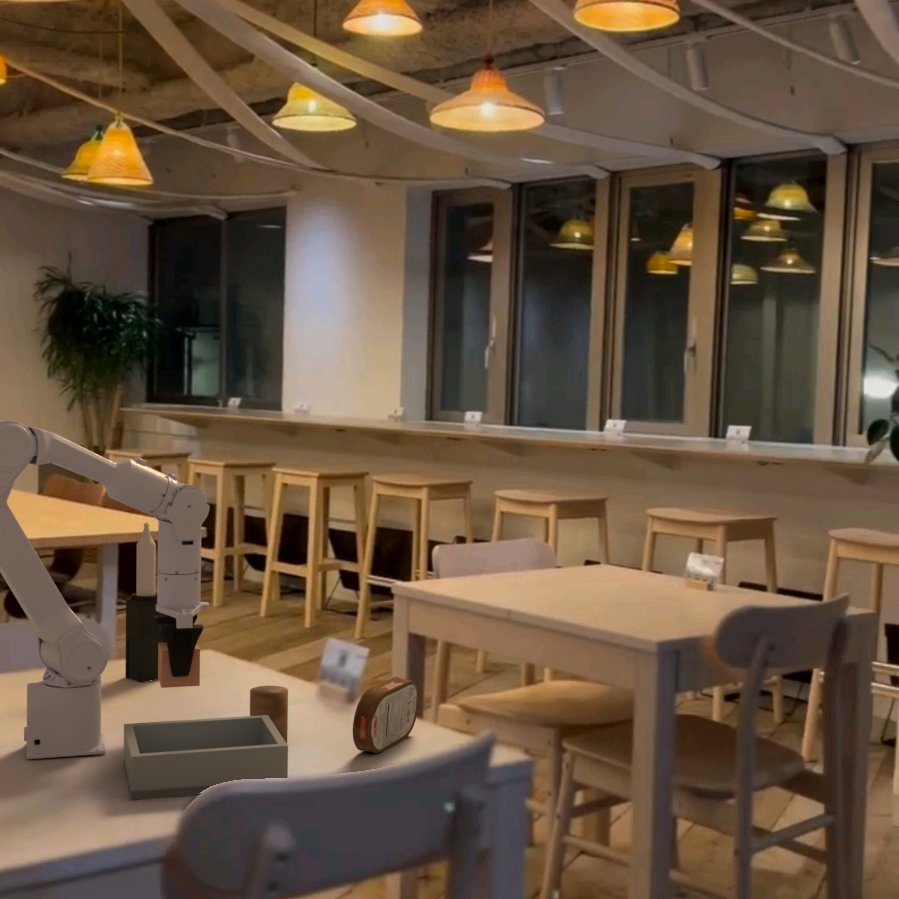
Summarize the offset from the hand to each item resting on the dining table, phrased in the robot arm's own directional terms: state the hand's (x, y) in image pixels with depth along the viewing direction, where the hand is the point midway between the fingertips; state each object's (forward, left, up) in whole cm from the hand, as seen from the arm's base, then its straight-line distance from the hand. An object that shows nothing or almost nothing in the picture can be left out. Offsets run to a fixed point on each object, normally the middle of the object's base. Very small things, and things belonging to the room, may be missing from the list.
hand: (178, 671), depth 169 cm
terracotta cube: (0, 0, -2) cm, 2 cm away
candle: (-2, +33, -9) cm, 34 cm away
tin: (+26, -12, -9) cm, 30 cm away
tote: (+1, -19, -8) cm, 21 cm away
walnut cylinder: (+11, -7, -8) cm, 16 cm away
